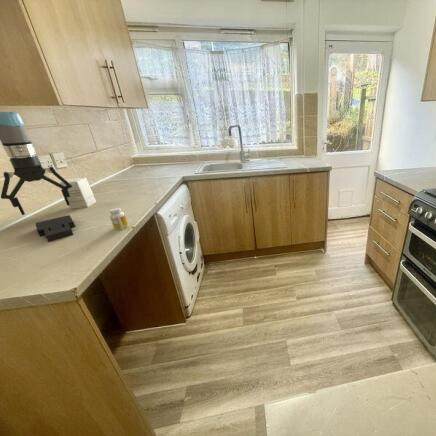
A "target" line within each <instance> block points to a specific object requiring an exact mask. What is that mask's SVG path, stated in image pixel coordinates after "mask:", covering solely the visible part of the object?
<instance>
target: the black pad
mask: <svg viewBox="0 0 436 436" xmlns="http://www.w3.org/2000/svg"><path fill="white" fill-rule="evenodd" d="M64 226H65V227H63V228H59V229H55V230H51V231H49V229H48V228H46V229H44V232H45V235H44V236H45V238H46V241H47V242H48V243H50V242H53V241H57V240H60V239H65V238H67V237H71V236H74V233H73V230H72V228H70V226H69V224H68V223H66V224H64Z"/></svg>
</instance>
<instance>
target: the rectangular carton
mask: <svg viewBox="0 0 436 436" xmlns="http://www.w3.org/2000/svg"><path fill="white" fill-rule="evenodd" d="M65 180H66V181H67V182H68V183H70V184H71V185H72V187H71V188H69V189H68V192H69V195H70V197H67V199H68V201H69V204H70V205H69V208H70V210H75V209H76V210H77V209H85V208H90V207H91V206H93V205H94V204H96V203H97V200H96V197H95V195H94V193H93V190H92V188H91V186H90V183H89V181H88V179H87V177H76V178H68V179H65ZM59 183H60V184H62V185H64V186H66V184H64V183H63V182H62V181H61V182H59ZM61 190H63V189H61Z"/></svg>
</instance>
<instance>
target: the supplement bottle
mask: <svg viewBox="0 0 436 436" xmlns="http://www.w3.org/2000/svg"><path fill="white" fill-rule="evenodd" d="M109 214H110V215H109V220H110V221H111V224H112V226H113V229H114V231H123V230H127V229H128V228H129V227H130V225H129V223H128V219H127V217H126V214H125V212H123V211H122V209H121V207H114V208H110V209H109Z"/></svg>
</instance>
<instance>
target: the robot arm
mask: <svg viewBox="0 0 436 436" xmlns="http://www.w3.org/2000/svg"><path fill="white" fill-rule="evenodd" d="M0 142H1V145H2V146H3V149H4V151H5V153H6V155H7V157H9V162H10V163H11V166H12V168H13V170H14V171H3V177H4V181H3V185H2V190H1V194H0V199H2V200H8V201H10V203H11V205H12V207H13V208H18V210H19V212H20V214H21V215H22V216H25V215H26V213H25V211H24V208H23V207H22V204H21V202H20V200H19V198H18V196H17V194H18V193H19V191H20V189H21V188H22V186H23V185H24V184H25V182H27V183H30V182H34V181H35V182H37V181H41V180H44V181H46V182H47V183H50V184H52V185H54V186H55V187H57V188H59V189H60V191H61V193H62V196H63V199H64V201H65V203H66V205H67V207H68V206H69V205H70V204H69V201H68V199H67V197H70V195H69V192H68V189H69V188H71V187H72V185H71V184H70V183H68V182H67V181H66V180H67V179H65V178H64V177H63V176H61V175H60V174H59V173H58V172H57V171H56V169H55V168H54V167H53V166H52V165H51V166H48V167H43V165H42V163H41V160H40V158H39V156H38V155H37V152H36V149H35V147H34V144H33V143H32V139H31V137H30V134H29V132H28V130H27V127H26V125H25V122H24V121H23V119H22V117H21V115H20V114H19V113H18V112H17V111H0ZM46 172H48V173H50V174H52V175H54V176H55V177H56V178H57V179H58V180H59V181H61V182H63V183H64V184H66V186H64V185H62V184H60V183H61V182H59V181H56V180H54V179H52V178H51V177H48V176H47V175H45V174H46ZM14 176H15V177H17V178H19V179H18V181H17V183H16V184H15V186H14V187H13V189H12V190H11V192H10V194H8V190H9V185H10V180H11V179H13V177H14ZM62 189H63V190H62ZM69 207H70V206H69Z"/></svg>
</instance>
